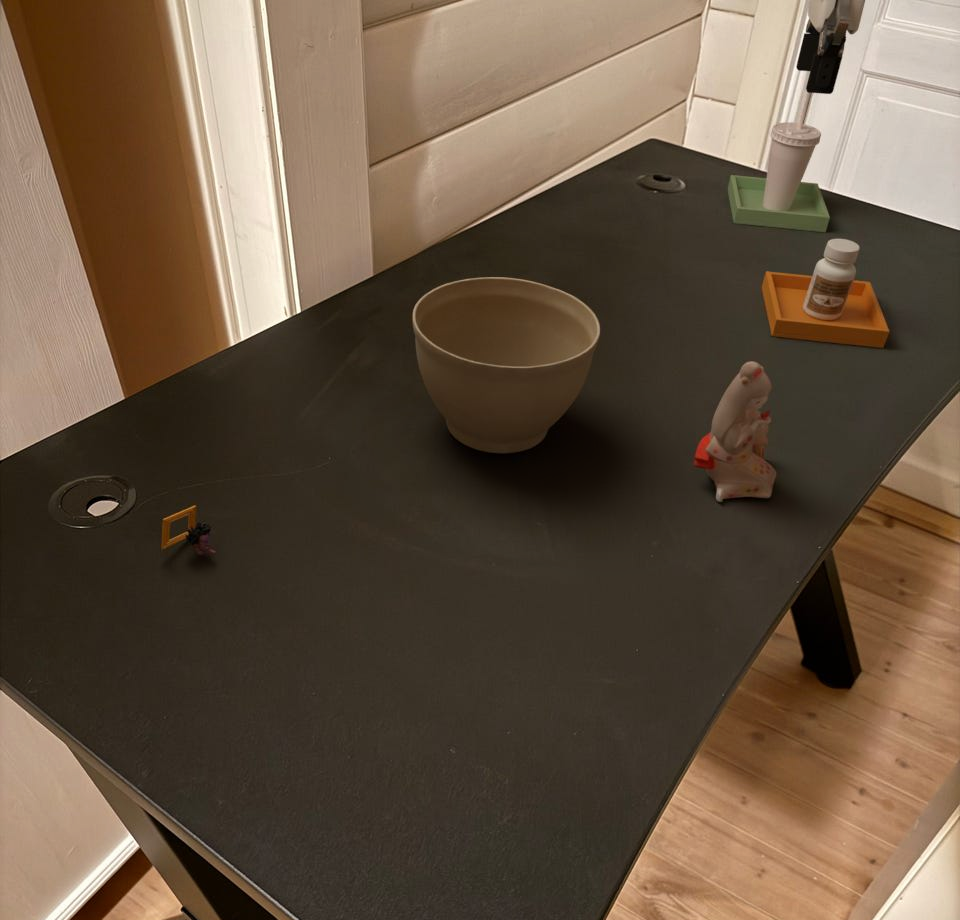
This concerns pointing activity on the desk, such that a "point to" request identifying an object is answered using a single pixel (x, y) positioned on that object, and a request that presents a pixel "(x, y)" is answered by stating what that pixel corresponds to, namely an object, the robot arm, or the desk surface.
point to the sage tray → (801, 216)
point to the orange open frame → (188, 532)
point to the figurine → (739, 439)
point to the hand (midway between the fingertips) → (813, 81)
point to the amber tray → (791, 321)
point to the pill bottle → (832, 280)
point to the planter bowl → (503, 358)
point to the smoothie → (788, 160)
